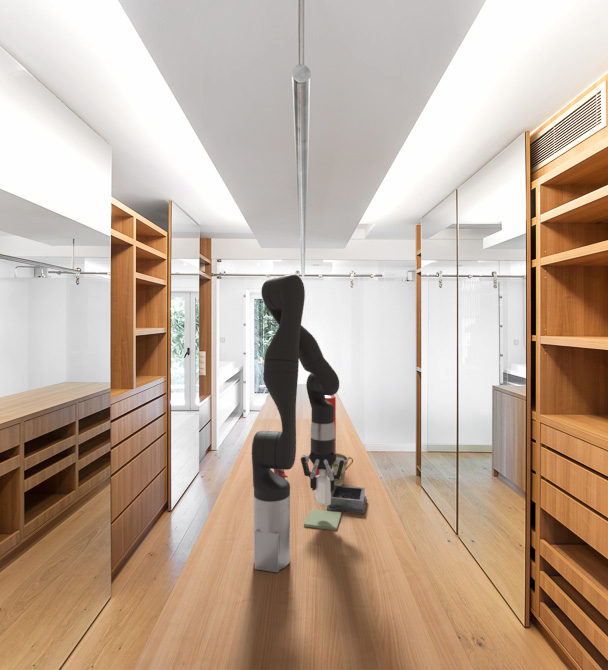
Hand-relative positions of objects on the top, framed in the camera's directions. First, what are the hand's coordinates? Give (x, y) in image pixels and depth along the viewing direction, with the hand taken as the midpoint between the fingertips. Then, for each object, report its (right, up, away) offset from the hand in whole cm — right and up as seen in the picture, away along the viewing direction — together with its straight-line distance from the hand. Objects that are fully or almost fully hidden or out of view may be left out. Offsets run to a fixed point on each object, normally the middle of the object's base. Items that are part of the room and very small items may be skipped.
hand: (322, 490), depth 122 cm
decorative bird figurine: (-15, -9, +28) cm, 33 cm away
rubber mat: (0, -9, 0) cm, 9 cm away
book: (+2, -9, +46) cm, 47 cm away
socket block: (+9, -9, +11) cm, 17 cm away
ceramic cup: (+7, -9, +30) cm, 32 cm away
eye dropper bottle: (0, -4, 0) cm, 4 cm away
